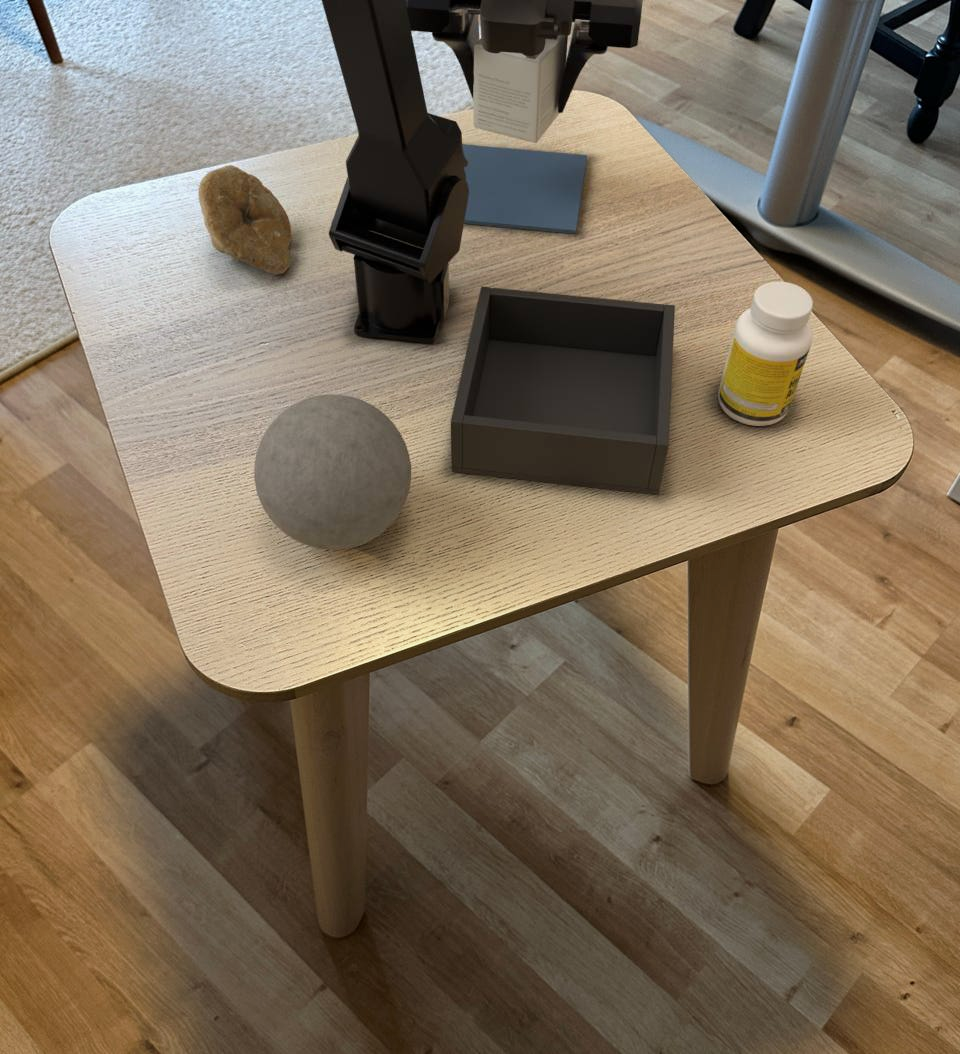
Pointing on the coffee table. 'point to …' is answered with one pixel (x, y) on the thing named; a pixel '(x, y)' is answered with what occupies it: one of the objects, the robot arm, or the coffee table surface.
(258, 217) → the fossil
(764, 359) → the supplement bottle
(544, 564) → the coffee table surface
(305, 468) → the decorative ball
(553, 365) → the bin
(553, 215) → the mat
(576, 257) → the coffee table surface
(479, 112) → the product carton
